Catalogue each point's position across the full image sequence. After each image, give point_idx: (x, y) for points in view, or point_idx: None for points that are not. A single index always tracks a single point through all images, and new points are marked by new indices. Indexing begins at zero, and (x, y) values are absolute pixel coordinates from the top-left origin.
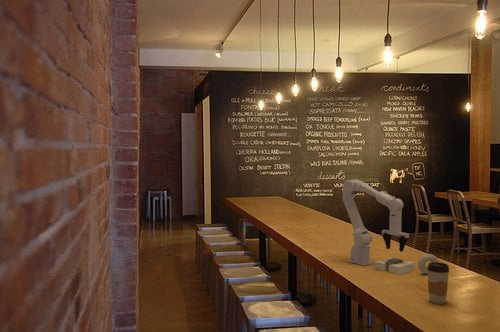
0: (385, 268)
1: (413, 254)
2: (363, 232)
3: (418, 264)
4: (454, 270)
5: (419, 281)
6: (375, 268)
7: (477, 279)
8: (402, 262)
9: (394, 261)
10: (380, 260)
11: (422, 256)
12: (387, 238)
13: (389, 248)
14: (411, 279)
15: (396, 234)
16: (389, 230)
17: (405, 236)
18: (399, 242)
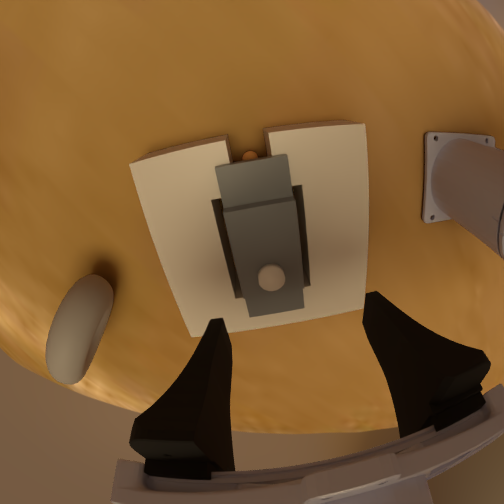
0: (266, 143)
1: (362, 415)
2: None
3: (84, 287)
4: (134, 393)
5: (17, 165)
6: (338, 120)
7: (33, 357)
8: (229, 284)
9: (223, 211)
10: (364, 195)
11: (60, 339)
12: (416, 377)
13: (364, 317)
14: (48, 150)
15: (250, 490)
16: (422, 495)
17: (130, 476)
18: (202, 389)
